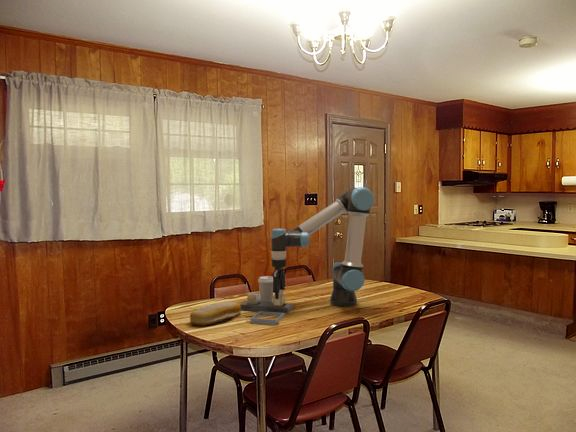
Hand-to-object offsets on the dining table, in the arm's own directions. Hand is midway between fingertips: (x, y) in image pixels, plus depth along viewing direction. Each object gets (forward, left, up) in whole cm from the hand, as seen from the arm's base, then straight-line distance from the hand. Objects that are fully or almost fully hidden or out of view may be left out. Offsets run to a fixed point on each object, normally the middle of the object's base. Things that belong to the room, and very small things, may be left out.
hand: (279, 303), depth 227 cm
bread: (+25, +21, -5) cm, 33 cm away
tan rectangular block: (0, 0, -4) cm, 4 cm away
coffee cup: (+12, -15, -5) cm, 20 cm away
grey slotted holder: (+7, 0, -5) cm, 9 cm away
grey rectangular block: (+14, 0, -4) cm, 15 cm away
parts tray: (+1, +15, -5) cm, 16 cm away
